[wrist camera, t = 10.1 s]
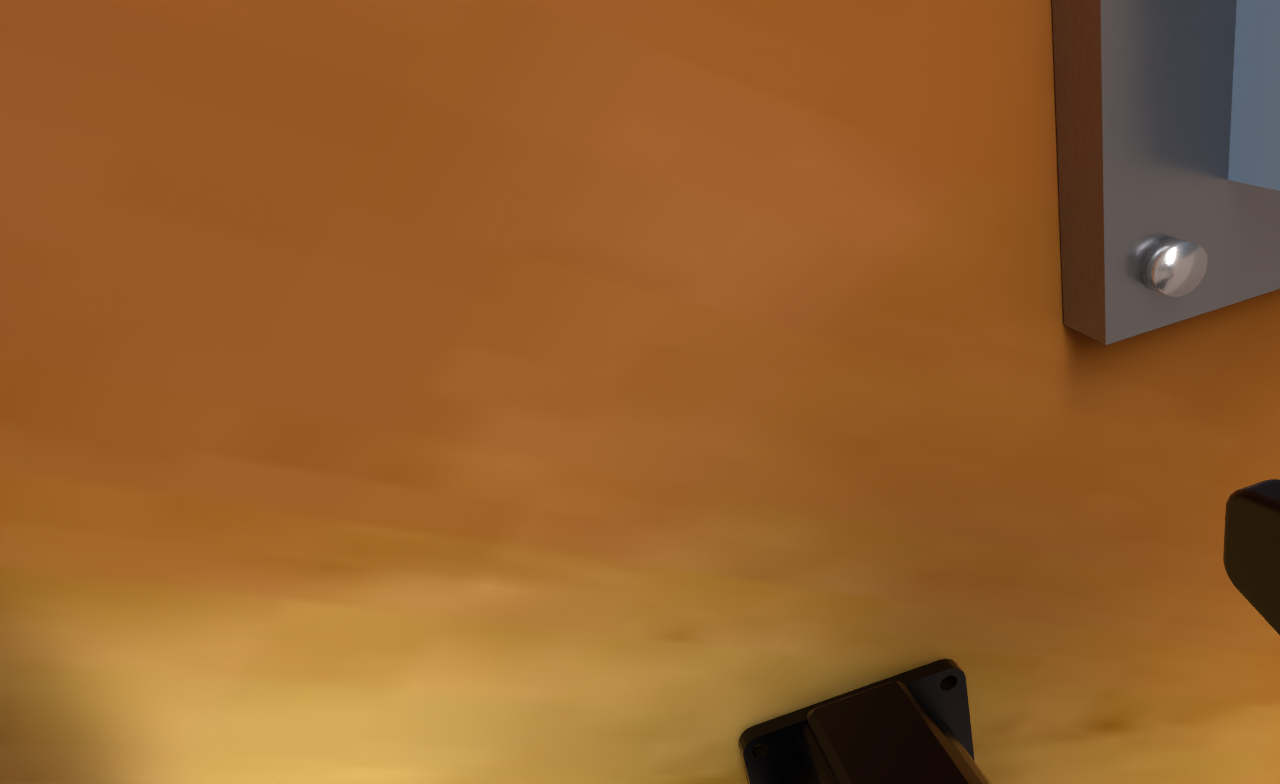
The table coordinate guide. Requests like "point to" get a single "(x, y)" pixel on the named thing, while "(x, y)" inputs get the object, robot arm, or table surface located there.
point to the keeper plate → (1153, 168)
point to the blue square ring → (1256, 95)
